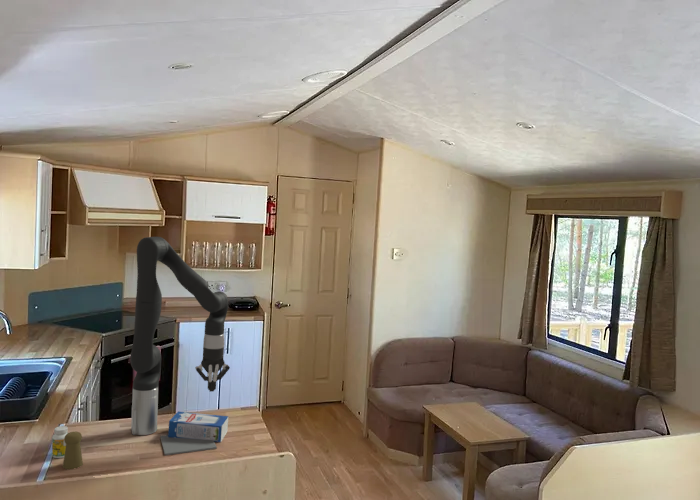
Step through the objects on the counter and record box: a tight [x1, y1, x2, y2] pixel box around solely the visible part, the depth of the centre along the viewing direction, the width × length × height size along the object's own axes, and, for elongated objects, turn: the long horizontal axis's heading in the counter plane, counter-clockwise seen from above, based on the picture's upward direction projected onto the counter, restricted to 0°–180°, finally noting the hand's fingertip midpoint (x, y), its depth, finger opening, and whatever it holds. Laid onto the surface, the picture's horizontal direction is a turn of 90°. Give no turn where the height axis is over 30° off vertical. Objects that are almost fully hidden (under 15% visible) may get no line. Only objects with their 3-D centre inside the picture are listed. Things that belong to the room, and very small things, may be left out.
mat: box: [159, 434, 218, 456], centre depth 205 cm, size 18×16×1 cm
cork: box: [62, 431, 84, 470], centre depth 183 cm, size 6×6×11 cm
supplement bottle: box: [51, 425, 69, 459], centre depth 189 cm, size 5×5×10 cm
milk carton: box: [167, 410, 229, 443], centre depth 212 cm, size 10×6×20 cm
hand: (211, 390), depth 206 cm, fingers closed
